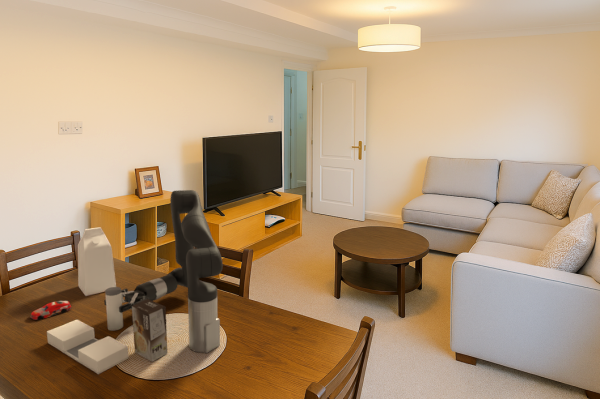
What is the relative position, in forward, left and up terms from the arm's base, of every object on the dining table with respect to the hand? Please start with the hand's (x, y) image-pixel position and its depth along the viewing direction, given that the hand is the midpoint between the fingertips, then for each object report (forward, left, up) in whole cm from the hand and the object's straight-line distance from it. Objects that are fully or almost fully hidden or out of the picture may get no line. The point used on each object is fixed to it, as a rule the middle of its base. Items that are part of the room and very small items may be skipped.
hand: (112, 306), depth 148 cm
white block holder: (-6, +13, -8) cm, 17 cm away
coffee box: (-23, +2, -8) cm, 25 cm away
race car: (+27, +7, -9) cm, 29 cm away
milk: (+35, -16, -8) cm, 39 cm away
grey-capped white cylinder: (0, -1, -8) cm, 8 cm away
